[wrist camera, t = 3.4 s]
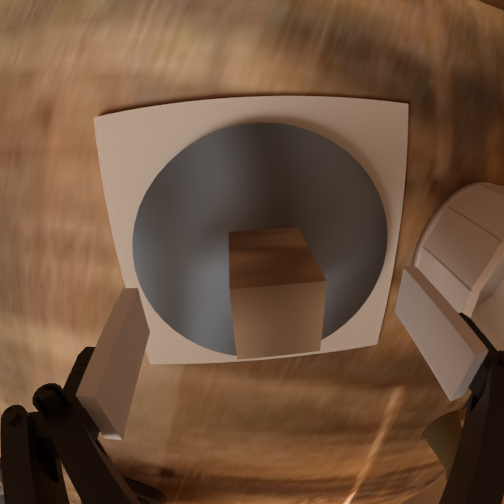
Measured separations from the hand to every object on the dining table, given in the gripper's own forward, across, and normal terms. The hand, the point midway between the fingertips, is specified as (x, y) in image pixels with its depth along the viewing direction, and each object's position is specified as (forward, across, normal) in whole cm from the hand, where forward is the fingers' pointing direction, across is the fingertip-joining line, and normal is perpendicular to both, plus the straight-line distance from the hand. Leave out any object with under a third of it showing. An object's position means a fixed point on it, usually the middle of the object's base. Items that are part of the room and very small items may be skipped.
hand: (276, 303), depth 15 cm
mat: (+6, 0, 0) cm, 6 cm away
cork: (+7, +26, -31) cm, 41 cm away
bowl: (+7, +18, -2) cm, 19 cm away
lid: (+6, 0, 0) cm, 6 cm away
